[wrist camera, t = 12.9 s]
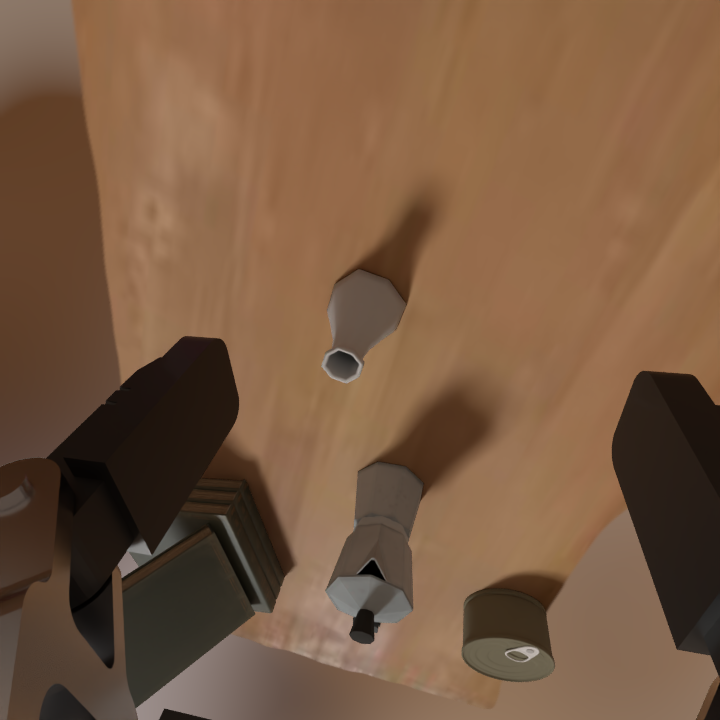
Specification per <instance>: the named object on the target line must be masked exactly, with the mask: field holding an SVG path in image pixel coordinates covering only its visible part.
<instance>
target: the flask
mask: <svg viewBox="0 0 720 720" xmlns="http://www.w3.org/2000/svg"><path fill="white" fill-rule="evenodd" d="M405 307H406V303H405V302H404V300H403V299H402V298H401V296H400V295H399V293H398V292H397V291H396V289H395V288H394V286H393V285H392V284H391V282H390V281H389V280H388V279H385V278H382V277H380V276H377V275H374V274H371V273H369V272H366V271H363V270H360V269H358V270H356V271H355V272H353V273H351V274H350V275H348V276H347V277H345V278H344V279H342V280H340V281H339V282H337V283H336V284H334V287H333V291H332V294H331V298H330V302H329V305H328V309H327V312H328V317H329V321H330V325H331V331H332V337H333V344H332V349H330V350H328V351H327V352H326V353H325V356H324V359H323V363H322V366H321V367H322V368H323V369H324V370H325V371H326V372H327V374H328V375H329V376H330V377H331V378H333V379H336V380H338V381H341V382H344V383H348V382H350V381H352V380H354V379H356V378H358V377H359V376H360V374H361V371H362V368H363V366H364V361H363V358H364V356H365V355H366V353H367V352H368V351H369V350H370V349H371V348H372V347H374V346H375V345H376V344H377V343H379V342H380V341H381V340H383V339H384V338H385V337H387V336H388V335H390V334H391V333H392V332H394V331H395V330H396V329H397V327H398V324H399V322H400V319H401V317H402V314H403V312H404V309H405Z"/></svg>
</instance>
